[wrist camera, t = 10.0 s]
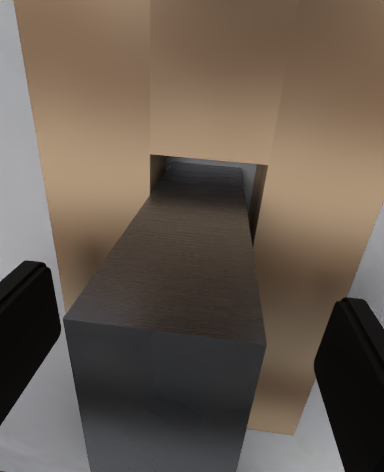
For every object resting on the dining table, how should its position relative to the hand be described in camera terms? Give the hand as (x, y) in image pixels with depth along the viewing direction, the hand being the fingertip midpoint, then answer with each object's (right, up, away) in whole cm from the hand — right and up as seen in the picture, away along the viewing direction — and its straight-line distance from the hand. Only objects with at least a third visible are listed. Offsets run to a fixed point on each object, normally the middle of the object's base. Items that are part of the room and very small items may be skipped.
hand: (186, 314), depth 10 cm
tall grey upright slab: (+1, +3, +5) cm, 6 cm away
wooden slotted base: (+1, +5, +4) cm, 6 cm away
